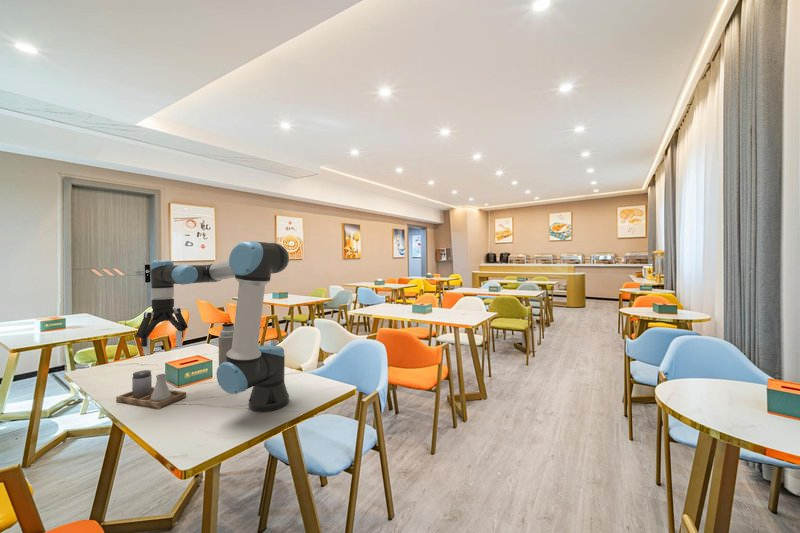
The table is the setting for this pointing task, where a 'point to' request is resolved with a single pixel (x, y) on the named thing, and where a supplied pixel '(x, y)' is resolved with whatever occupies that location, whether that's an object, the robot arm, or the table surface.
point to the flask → (160, 390)
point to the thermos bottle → (225, 341)
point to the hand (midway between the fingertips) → (163, 350)
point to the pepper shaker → (141, 384)
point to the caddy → (146, 400)
